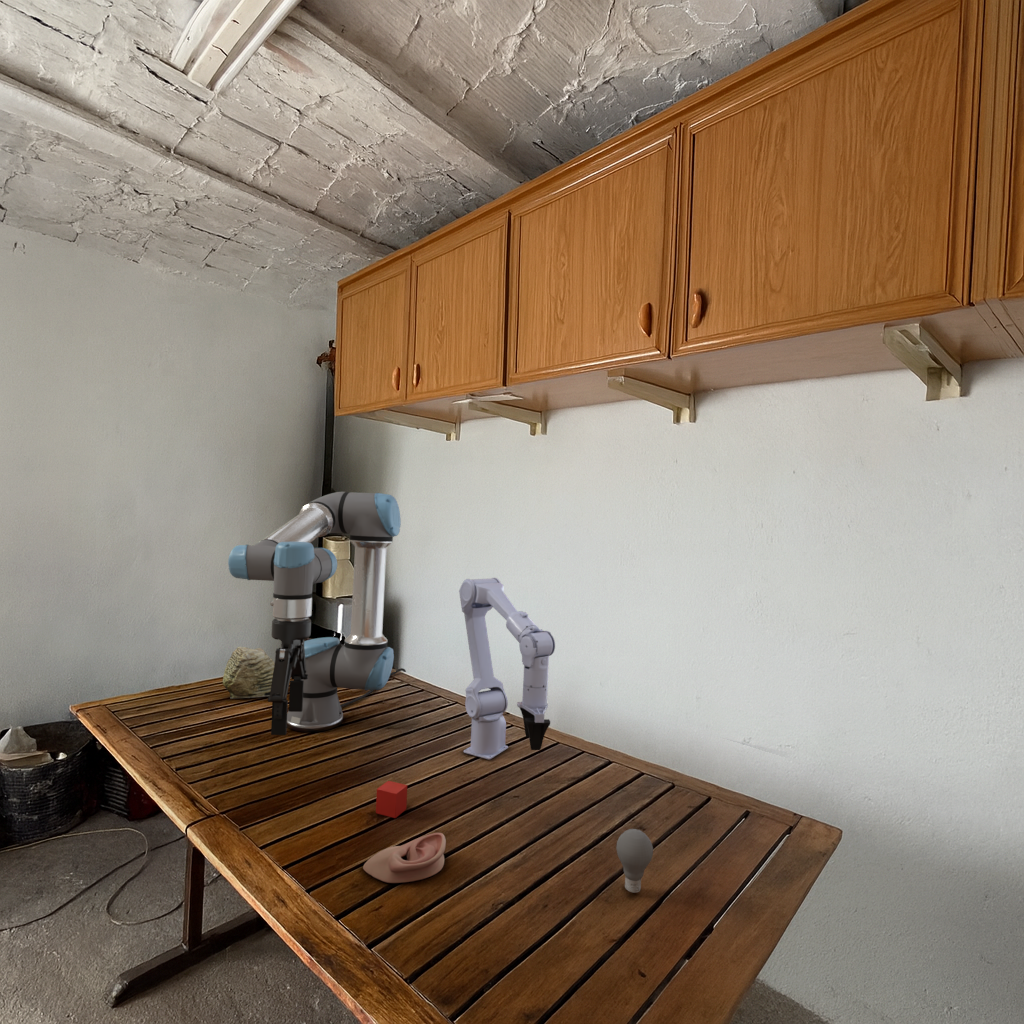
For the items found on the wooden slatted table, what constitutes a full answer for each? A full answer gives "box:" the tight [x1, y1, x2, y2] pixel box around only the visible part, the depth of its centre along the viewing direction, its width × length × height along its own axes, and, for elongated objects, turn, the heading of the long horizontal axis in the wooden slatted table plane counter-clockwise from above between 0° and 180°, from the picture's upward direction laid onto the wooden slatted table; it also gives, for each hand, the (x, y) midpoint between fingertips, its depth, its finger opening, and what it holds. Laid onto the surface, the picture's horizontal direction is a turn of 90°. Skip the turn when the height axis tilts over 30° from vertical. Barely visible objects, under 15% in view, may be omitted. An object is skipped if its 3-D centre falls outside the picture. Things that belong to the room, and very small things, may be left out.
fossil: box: [222, 646, 275, 699], centre depth 198 cm, size 9×18×15 cm, turn 132°
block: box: [375, 780, 408, 819], centre depth 129 cm, size 4×5×5 cm
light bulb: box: [615, 828, 654, 894], centre depth 106 cm, size 6×6×10 cm
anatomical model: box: [362, 832, 447, 884], centre depth 110 cm, size 13×4×12 cm
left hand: (287, 722), depth 129 cm, fingers open, 13 cm apart
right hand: (532, 742), depth 146 cm, fingers open, 7 cm apart
